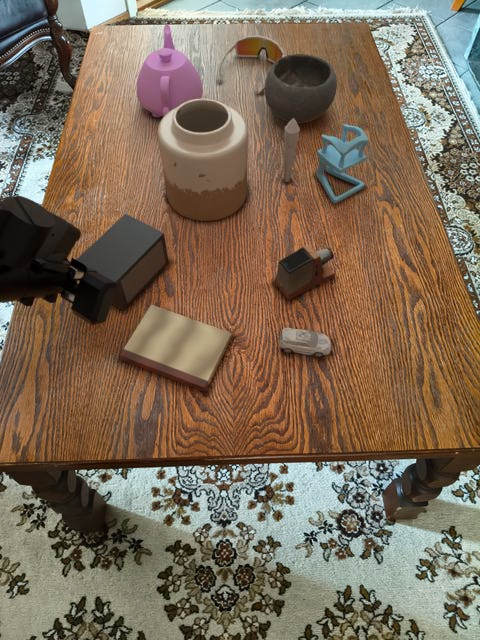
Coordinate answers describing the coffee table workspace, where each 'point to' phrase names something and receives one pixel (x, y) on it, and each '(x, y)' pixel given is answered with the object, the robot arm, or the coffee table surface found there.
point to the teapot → (167, 79)
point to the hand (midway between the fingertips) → (94, 272)
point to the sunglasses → (256, 49)
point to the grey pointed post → (290, 147)
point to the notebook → (176, 347)
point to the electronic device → (303, 271)
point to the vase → (204, 159)
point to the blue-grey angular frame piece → (341, 160)
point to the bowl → (300, 87)
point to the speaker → (128, 257)
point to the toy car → (304, 342)
